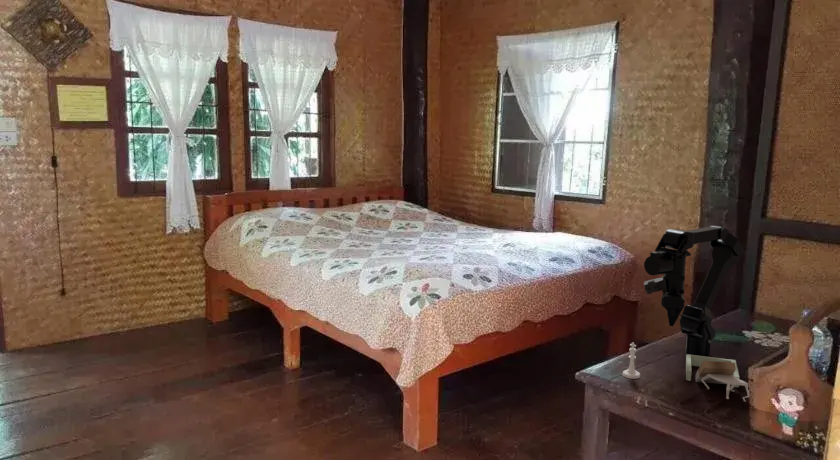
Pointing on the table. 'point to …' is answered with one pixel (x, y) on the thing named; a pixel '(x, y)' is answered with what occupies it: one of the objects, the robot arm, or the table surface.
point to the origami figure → (729, 380)
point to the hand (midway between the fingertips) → (671, 321)
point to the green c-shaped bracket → (697, 360)
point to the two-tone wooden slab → (714, 370)
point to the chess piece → (631, 365)
